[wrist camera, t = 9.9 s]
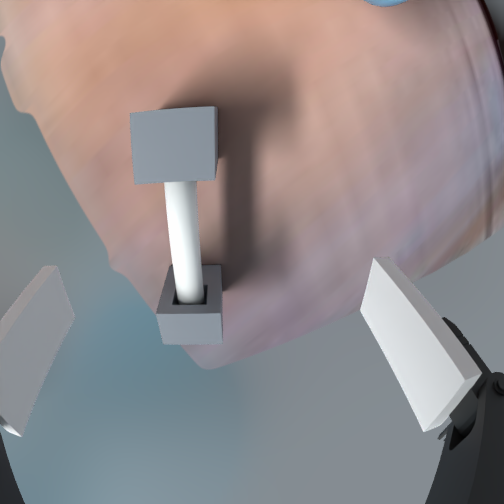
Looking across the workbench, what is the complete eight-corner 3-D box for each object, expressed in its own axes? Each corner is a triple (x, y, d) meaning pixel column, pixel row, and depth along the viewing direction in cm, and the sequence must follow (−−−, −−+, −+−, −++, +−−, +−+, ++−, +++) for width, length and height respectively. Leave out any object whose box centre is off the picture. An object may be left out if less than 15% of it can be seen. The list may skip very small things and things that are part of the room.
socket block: (169, 266, 50) (156, 313, 38) (220, 264, 51) (220, 313, 39) (173, 294, 53) (163, 344, 41) (222, 293, 53) (222, 343, 42)
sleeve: (156, 111, 38) (129, 113, 26) (217, 107, 38) (214, 106, 27) (159, 162, 41) (134, 184, 30) (218, 159, 42) (215, 180, 31)
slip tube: (164, 143, 34) (156, 148, 31) (198, 141, 35) (194, 146, 31) (180, 304, 46) (177, 321, 42) (207, 303, 47) (206, 321, 43)
